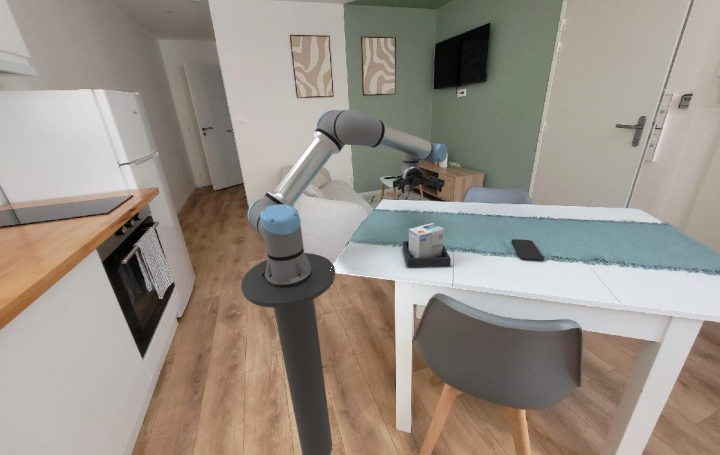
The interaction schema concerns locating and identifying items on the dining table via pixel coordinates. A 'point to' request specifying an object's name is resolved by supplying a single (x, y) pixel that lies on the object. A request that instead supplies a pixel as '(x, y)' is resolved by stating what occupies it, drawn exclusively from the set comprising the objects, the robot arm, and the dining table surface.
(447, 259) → the pad
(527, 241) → the phone
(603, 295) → the dining table surface
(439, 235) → the light bulb box
